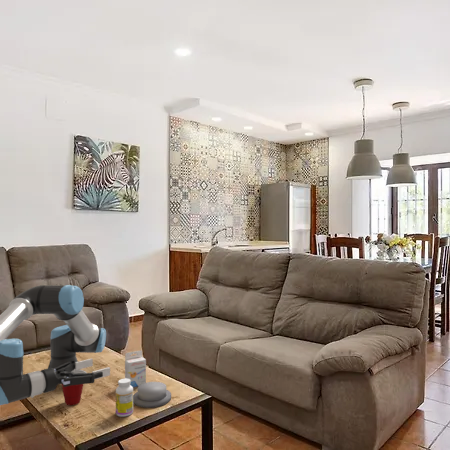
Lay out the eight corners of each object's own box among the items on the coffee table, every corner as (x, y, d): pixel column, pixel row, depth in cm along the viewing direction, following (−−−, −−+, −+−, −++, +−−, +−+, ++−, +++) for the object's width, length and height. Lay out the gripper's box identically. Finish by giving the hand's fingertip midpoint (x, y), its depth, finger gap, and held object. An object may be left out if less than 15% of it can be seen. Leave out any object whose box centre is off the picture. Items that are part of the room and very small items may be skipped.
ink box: (128, 388, 179) (128, 356, 179) (124, 385, 183) (124, 353, 183) (146, 384, 184) (146, 352, 184) (142, 381, 188) (142, 349, 188)
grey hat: (126, 406, 162) (126, 393, 162) (141, 390, 178) (141, 378, 178) (163, 409, 159) (163, 396, 159) (176, 392, 175) (176, 381, 175)
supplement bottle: (117, 409, 159) (117, 377, 159) (134, 409, 159) (134, 376, 159) (114, 417, 152) (114, 384, 152) (131, 417, 153) (131, 383, 153)
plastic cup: (70, 411, 158) (70, 380, 158) (53, 404, 163) (53, 375, 163) (92, 400, 167) (92, 372, 167) (75, 394, 173) (75, 367, 173)
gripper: (28, 382, 142) (85, 368, 157) (56, 404, 125) (117, 386, 139) (28, 361, 143) (85, 349, 157) (56, 380, 125) (117, 364, 140)
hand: (100, 366), depth 148 cm, fingers open, 13 cm apart
